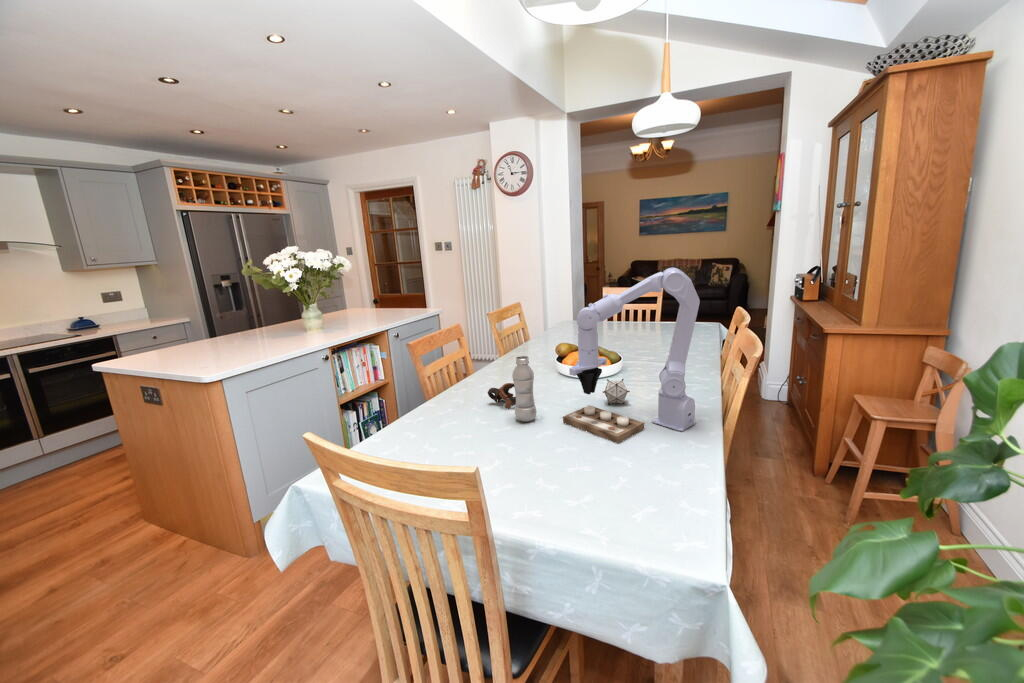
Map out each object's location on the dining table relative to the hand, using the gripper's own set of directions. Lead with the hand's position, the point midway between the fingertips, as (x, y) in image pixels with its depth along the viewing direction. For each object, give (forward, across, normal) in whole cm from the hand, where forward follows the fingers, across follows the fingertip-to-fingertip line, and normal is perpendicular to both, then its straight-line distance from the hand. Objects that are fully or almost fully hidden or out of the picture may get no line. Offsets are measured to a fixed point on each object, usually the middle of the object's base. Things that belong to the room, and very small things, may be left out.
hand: (589, 392), depth 131 cm
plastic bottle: (+9, +14, -14) cm, 21 cm away
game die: (+9, -16, -2) cm, 18 cm away
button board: (+8, +2, +6) cm, 10 cm away
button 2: (+7, 0, +12) cm, 14 cm away
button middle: (+7, 0, +6) cm, 9 cm away
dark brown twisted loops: (+9, +9, -29) cm, 32 cm away
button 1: (+7, 0, 0) cm, 7 cm away
